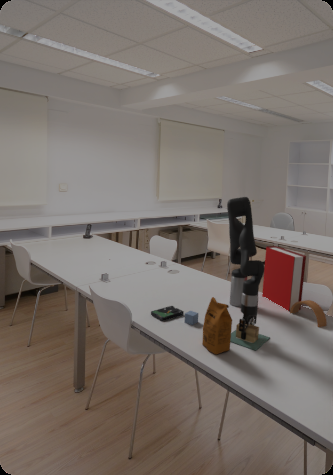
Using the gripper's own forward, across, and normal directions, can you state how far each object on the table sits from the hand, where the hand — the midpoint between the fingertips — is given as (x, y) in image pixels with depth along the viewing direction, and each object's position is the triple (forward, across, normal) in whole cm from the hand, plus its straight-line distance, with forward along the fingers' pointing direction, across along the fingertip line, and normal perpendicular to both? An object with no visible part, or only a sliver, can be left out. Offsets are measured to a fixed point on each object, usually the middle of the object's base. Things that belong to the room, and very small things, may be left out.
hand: (246, 336), depth 166 cm
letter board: (+1, 0, 0) cm, 1 cm away
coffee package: (+2, +17, -7) cm, 19 cm away
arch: (+2, -44, +15) cm, 46 cm away
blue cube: (+1, +2, -30) cm, 30 cm away
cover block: (+1, 0, 0) cm, 1 cm away
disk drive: (+2, +3, -45) cm, 45 cm away
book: (+2, -58, -6) cm, 58 cm away
